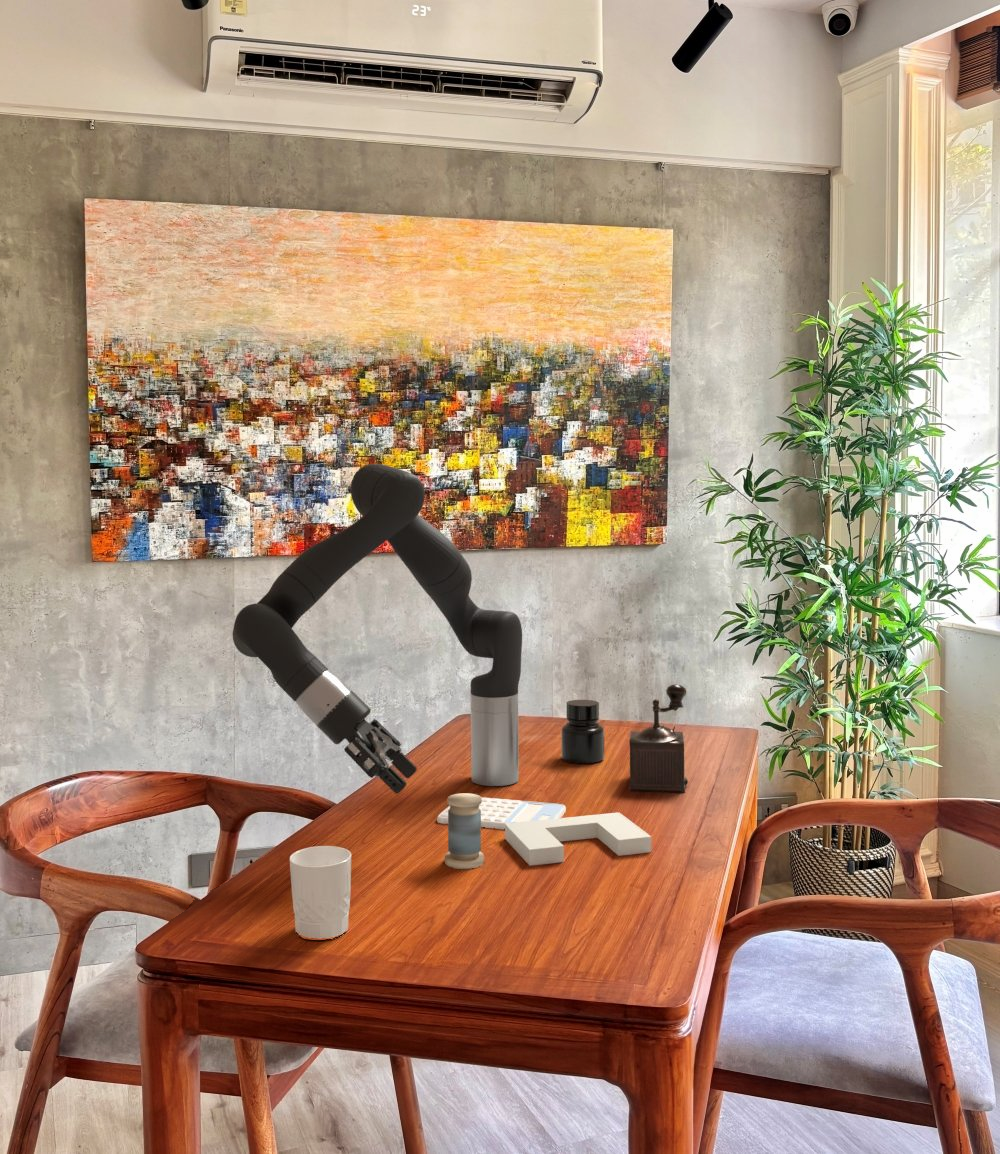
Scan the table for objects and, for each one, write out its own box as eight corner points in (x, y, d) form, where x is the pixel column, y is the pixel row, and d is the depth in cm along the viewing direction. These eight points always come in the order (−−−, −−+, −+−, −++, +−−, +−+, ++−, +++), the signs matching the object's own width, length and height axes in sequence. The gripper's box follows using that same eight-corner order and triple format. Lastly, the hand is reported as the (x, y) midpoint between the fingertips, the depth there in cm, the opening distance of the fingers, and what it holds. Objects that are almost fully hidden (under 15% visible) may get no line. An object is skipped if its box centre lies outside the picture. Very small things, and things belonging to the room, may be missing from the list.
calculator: (460, 803, 197) (460, 793, 196) (567, 812, 191) (567, 802, 191) (435, 826, 184) (434, 815, 184) (548, 836, 178) (548, 825, 178)
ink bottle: (613, 757, 227) (613, 701, 225) (593, 767, 219) (593, 709, 218) (572, 751, 232) (572, 696, 231) (552, 760, 224) (551, 704, 223)
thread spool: (440, 857, 167) (440, 794, 166) (478, 853, 168) (478, 791, 168) (450, 870, 161) (450, 805, 160) (488, 866, 163) (488, 802, 162)
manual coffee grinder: (688, 793, 200) (689, 698, 199) (628, 791, 202) (628, 697, 200) (685, 771, 215) (686, 682, 214) (630, 769, 217) (630, 681, 215)
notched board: (505, 838, 175) (504, 823, 175) (619, 826, 181) (619, 812, 181) (529, 865, 163) (529, 849, 163) (651, 852, 169) (651, 836, 168)
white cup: (294, 919, 143) (292, 846, 143) (354, 917, 144) (352, 844, 143) (288, 945, 136) (286, 867, 135) (351, 942, 136) (349, 865, 135)
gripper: (337, 699, 157) (416, 777, 157) (360, 681, 171) (432, 753, 171) (303, 734, 158) (381, 812, 158) (328, 713, 172) (400, 785, 172)
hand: (407, 781), depth 165 cm, fingers open, 8 cm apart
